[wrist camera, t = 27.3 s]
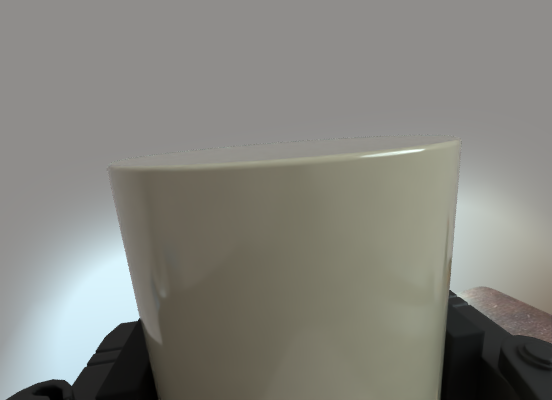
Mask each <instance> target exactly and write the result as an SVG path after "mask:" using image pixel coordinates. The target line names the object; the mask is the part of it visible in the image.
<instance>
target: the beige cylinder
mask: <svg viewBox="0 0 552 400" xmlns="http://www.w3.org/2000/svg"><path fill="white" fill-rule="evenodd" d="M461 144H462V141H461V139H460V138H457V137H454V136H446V135H404V136H377V137H357V138H339V139H323V140H307V141H293V142H280V143H267V144H256V145H255V144H254V145H243V146H231V147H221V148H210V149H200V150H191V151H182V152H173V153H165V154H156V155H149V156H141V157H135V158H129V159H124V160H119V161H115V162H113V163H111V164H109V165H108V167H107V171H108V175H109V180H110V184H111V189H112V193H113V198H114V202H115V207H116V212H117V216H118V221H119V225H120V230H121V234H122V239H123V243H124V248H125V252H126V257H127V261H128V266H129V271H130V275H131V279H132V284H133V289H134V293H135V298H136V302H137V306H138V311H139V316H140V320H141V325H142V329H143V334H144V339H145V343H146V348H147V352H148V357H149V361H150V366H151V370H152V375H153V379H154V384H155V388H156V393H157V397H158V400H440V396H441V384H442V372H443V360H444V348H445V336H446V324H447V312H448V300H449V288H450V276H451V263H452V251H453V240H454V228H455V216H456V215H455V214H456V204H457V192H458V180H459V168H460V155H461Z"/></svg>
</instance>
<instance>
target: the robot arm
mask: <svg viewBox="0 0 552 400" xmlns="http://www.w3.org/2000/svg"><path fill="white" fill-rule="evenodd" d="M6 400H158V397H157V393H156V388H155V384H154V379H153V375H152V370H151V366H150V361H149V357H148V352H147V348H146V343H145V339H144V334H143V329H142V325H141V320H140V318H139V320H138V321H135V322H128V323H121V324H120V325H118V326H117V327H116V328H115V329H114V330H113V331H111V332H110V333H109V334H108V335H107V336H106V337H105V338H104V340H103V341H102V342H101V344H100V345H99V347H98V349H97V350H96V353H95V354H93V356H92V357H91V359H90V360H89V362H88V363H87V367H85V368H84V369H83V370H82V372H81V373H80V375H79V376H78V378H77V379H76V381H75V382H74V384H73V385H72V386H71V385H70V384H69V383H68V382H66V381H65V380H54V379H52V380H49V381H45V382H41V383H37V384H34V385H32V386H30V387H28V388H26V389H23V390H21V391H19V392H17V393H16V394H14V395H13V396H11V397H10V398H8V399H6ZM440 400H552V344H551V343H549V342H546V341H543V340H540V339H537V338H534V337H528V336H522V335H514V336H513V335H511V334H510V333H508V332H507V331H506V330H504V329H503V328H502V327H500V326H499V325H497V324H496V323H495V322H493V321H492V320H490V319H489V318H488V317H486V316H485V315H484V314H482V313H481V312H479V311H478V310H477V309H475V308H474V307H473V306H471V305H468V303H467V302H466V301H464V300H463V299H462V298H460V297H457V295H456V294H455V293H453V292H452V291H451V290H449V300H448V312H447V324H446V336H445V348H444V360H443V372H442V384H441V396H440Z"/></svg>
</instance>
